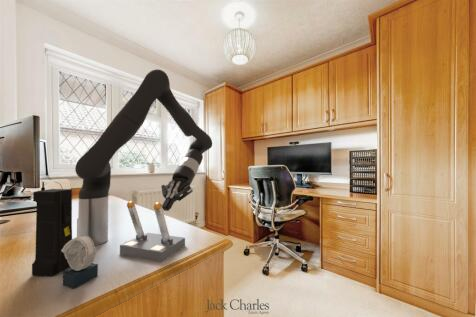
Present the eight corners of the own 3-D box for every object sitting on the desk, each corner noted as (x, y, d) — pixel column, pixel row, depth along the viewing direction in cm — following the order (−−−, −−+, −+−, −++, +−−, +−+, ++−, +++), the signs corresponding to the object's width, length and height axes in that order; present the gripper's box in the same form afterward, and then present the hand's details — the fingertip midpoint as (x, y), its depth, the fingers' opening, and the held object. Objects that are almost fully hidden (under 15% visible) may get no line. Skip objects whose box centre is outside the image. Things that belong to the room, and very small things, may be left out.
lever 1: (136, 239, 68) (124, 203, 63) (141, 234, 70) (130, 199, 65) (141, 240, 67) (129, 203, 63) (146, 235, 69) (135, 200, 65)
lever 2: (161, 243, 64) (151, 205, 60) (166, 238, 66) (156, 201, 62) (167, 244, 63) (157, 205, 59) (172, 239, 65) (162, 201, 61)
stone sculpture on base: (82, 271, 53) (82, 231, 53) (102, 277, 50) (102, 235, 51) (57, 283, 48) (57, 239, 48) (78, 290, 45) (78, 243, 45)
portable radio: (78, 265, 57) (79, 180, 57) (56, 277, 51) (58, 182, 51) (54, 264, 57) (55, 180, 58) (30, 276, 51) (32, 182, 52)
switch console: (119, 254, 63) (119, 240, 64) (147, 240, 75) (147, 228, 75) (161, 262, 58) (161, 247, 58) (185, 246, 69) (185, 233, 69)
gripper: (168, 164, 76) (143, 201, 64) (197, 164, 71) (176, 204, 59) (176, 177, 81) (155, 214, 69) (204, 177, 76) (186, 217, 64)
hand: (165, 209), depth 64 cm, fingers closed
